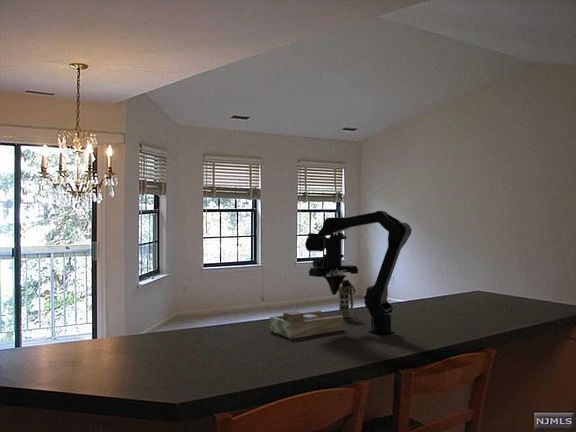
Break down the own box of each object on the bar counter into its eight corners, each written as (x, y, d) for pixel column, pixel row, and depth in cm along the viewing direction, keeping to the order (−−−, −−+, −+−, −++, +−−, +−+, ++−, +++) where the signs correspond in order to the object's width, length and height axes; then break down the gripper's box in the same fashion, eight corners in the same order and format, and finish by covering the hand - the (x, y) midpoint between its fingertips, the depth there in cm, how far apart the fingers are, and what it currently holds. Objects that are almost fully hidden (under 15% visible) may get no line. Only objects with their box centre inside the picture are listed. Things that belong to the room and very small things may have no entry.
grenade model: (346, 319, 200) (345, 281, 200) (336, 316, 206) (335, 279, 206) (359, 317, 203) (358, 280, 203) (348, 315, 209) (348, 278, 209)
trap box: (343, 329, 181) (343, 315, 181) (291, 338, 169) (291, 323, 169) (319, 323, 193) (319, 310, 193) (270, 330, 181) (270, 316, 181)
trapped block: (317, 328, 185) (317, 315, 186) (308, 329, 183) (308, 317, 183) (309, 326, 189) (309, 314, 189) (300, 328, 186) (300, 315, 186)
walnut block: (303, 327, 174) (303, 313, 174) (291, 329, 172) (291, 314, 172) (295, 325, 178) (295, 310, 178) (283, 327, 176) (283, 312, 176)
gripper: (339, 249, 198) (340, 289, 197) (300, 251, 187) (300, 294, 187) (358, 251, 188) (359, 293, 188) (317, 253, 178) (318, 298, 178)
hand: (334, 294), depth 186 cm, fingers closed
